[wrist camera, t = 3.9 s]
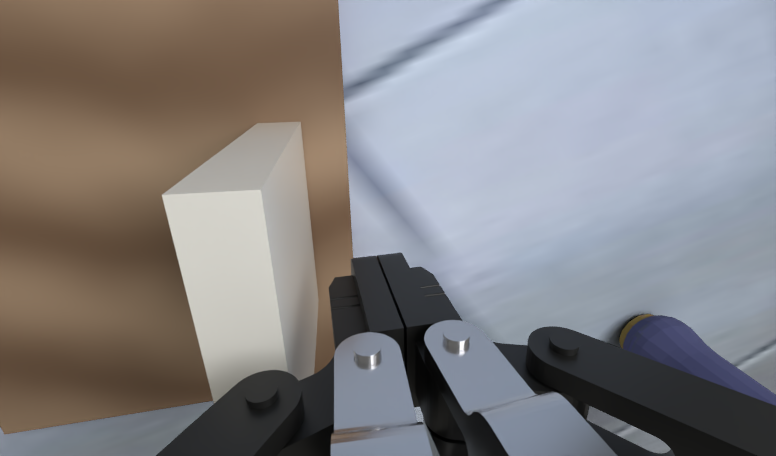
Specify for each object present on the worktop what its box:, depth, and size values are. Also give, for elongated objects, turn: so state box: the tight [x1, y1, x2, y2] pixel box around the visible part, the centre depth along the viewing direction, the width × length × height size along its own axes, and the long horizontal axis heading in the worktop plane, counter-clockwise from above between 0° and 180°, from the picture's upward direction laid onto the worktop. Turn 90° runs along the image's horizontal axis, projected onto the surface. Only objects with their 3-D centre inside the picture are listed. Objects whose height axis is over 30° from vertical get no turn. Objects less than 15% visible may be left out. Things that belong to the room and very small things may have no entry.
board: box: [0, 0, 353, 434], centre depth 16 cm, size 18×16×1 cm
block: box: [162, 122, 319, 403], centre depth 12 cm, size 8×2×9 cm, turn 1°
